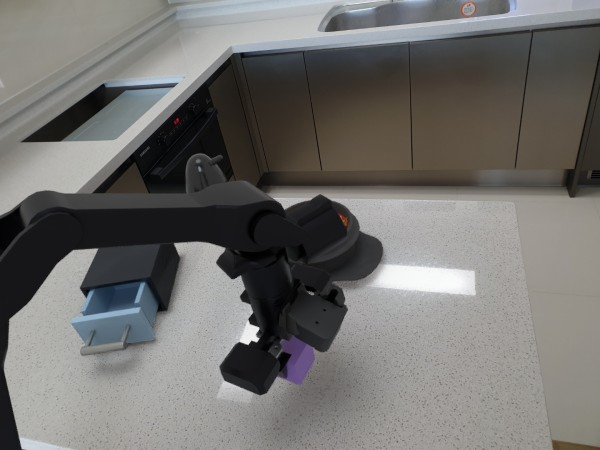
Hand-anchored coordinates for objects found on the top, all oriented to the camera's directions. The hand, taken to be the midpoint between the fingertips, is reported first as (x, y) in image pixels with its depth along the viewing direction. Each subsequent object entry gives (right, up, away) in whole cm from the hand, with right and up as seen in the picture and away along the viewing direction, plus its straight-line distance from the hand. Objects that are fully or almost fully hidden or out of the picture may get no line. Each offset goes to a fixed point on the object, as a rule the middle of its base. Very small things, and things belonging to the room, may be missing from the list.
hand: (292, 362), depth 63 cm
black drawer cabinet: (-29, +7, +26) cm, 40 cm away
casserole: (+5, +13, +25) cm, 28 cm away
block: (0, -1, +1) cm, 1 cm away
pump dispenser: (-18, +21, +43) cm, 51 cm away
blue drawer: (-29, +1, +18) cm, 34 cm away
